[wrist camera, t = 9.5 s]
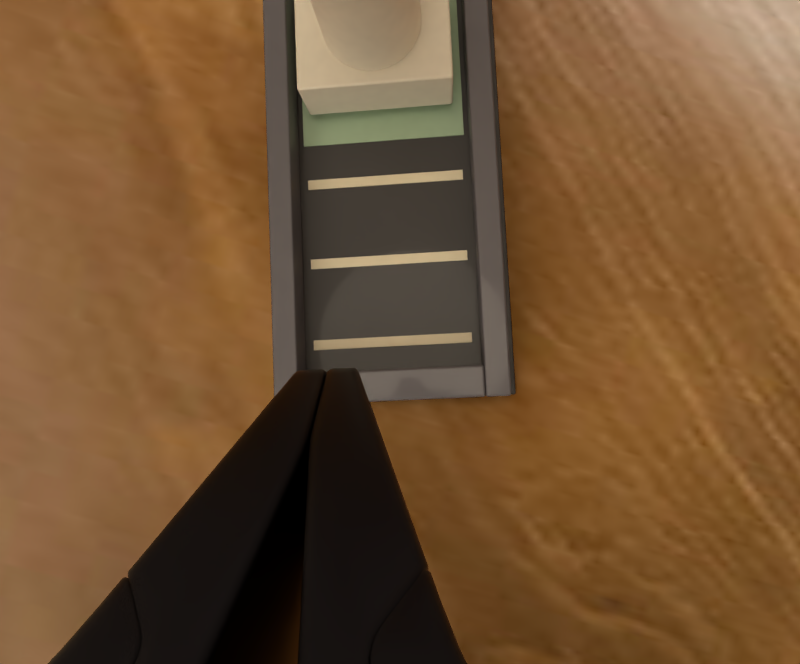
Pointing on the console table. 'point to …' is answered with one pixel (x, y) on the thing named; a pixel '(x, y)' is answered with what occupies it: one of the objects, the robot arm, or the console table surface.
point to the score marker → (373, 54)
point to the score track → (391, 228)
